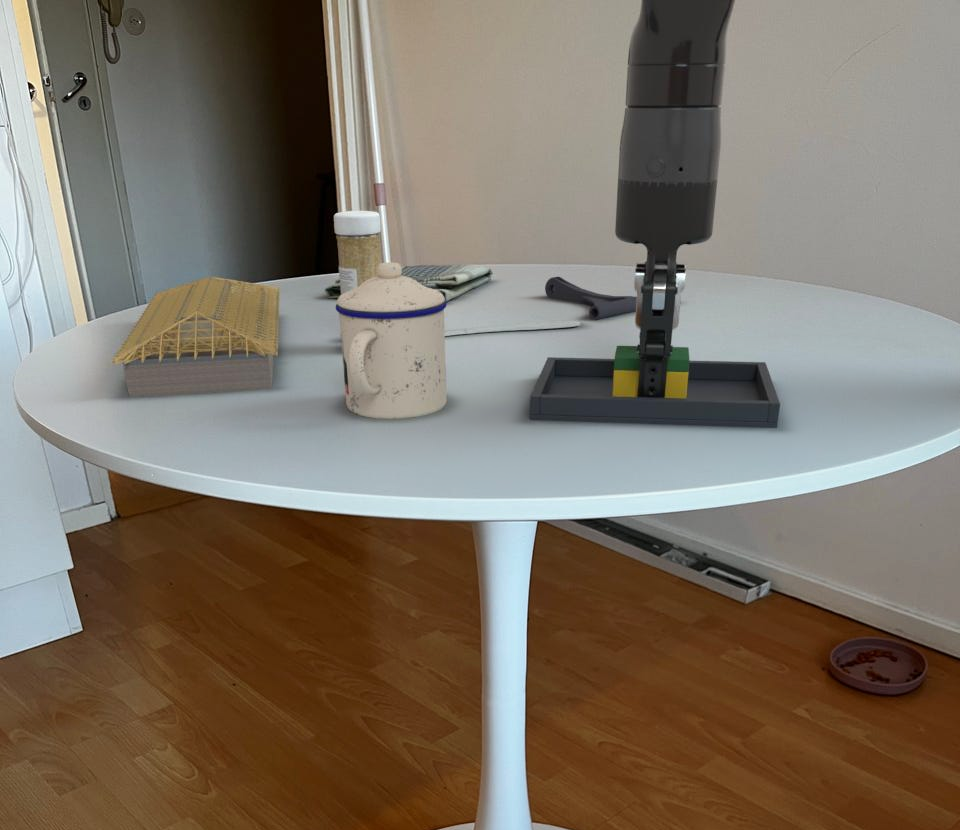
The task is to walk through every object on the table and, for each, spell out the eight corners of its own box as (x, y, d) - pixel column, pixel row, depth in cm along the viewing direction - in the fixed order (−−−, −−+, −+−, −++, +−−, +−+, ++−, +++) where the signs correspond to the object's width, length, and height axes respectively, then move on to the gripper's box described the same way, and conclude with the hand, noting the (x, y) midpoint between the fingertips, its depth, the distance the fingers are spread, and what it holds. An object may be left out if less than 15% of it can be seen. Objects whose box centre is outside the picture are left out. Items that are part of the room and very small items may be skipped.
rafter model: (281, 392, 91) (274, 322, 88) (117, 402, 89) (104, 331, 86) (282, 317, 122) (277, 264, 119) (160, 323, 120) (151, 269, 117)
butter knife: (584, 324, 112) (576, 317, 115) (342, 343, 107) (339, 335, 110) (584, 329, 112) (576, 322, 115) (343, 348, 108) (340, 340, 110)
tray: (762, 385, 91) (765, 362, 90) (776, 430, 79) (780, 403, 78) (547, 379, 94) (547, 357, 93) (529, 421, 82) (530, 396, 81)
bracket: (585, 290, 135) (585, 269, 133) (675, 304, 125) (676, 280, 124) (509, 306, 126) (508, 283, 125) (599, 322, 117) (600, 297, 115)
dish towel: (378, 277, 147) (376, 254, 145) (495, 282, 142) (494, 258, 140) (321, 300, 131) (319, 274, 130) (450, 306, 126) (450, 279, 125)
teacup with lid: (371, 389, 92) (362, 253, 86) (464, 397, 89) (461, 257, 83) (308, 426, 82) (293, 276, 76) (410, 436, 79) (402, 281, 74)
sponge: (684, 394, 86) (688, 347, 85) (685, 408, 83) (689, 359, 81) (614, 392, 87) (616, 345, 85) (611, 406, 83) (614, 357, 82)
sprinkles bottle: (391, 353, 104) (383, 213, 98) (348, 356, 103) (337, 215, 97) (383, 344, 108) (374, 208, 102) (341, 347, 107) (330, 210, 101)
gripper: (722, 181, 70) (698, 422, 78) (714, 167, 82) (694, 376, 90) (613, 181, 71) (601, 418, 79) (622, 167, 83) (610, 374, 92)
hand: (651, 395), depth 85 cm, fingers closed on sponge, 4 cm apart
